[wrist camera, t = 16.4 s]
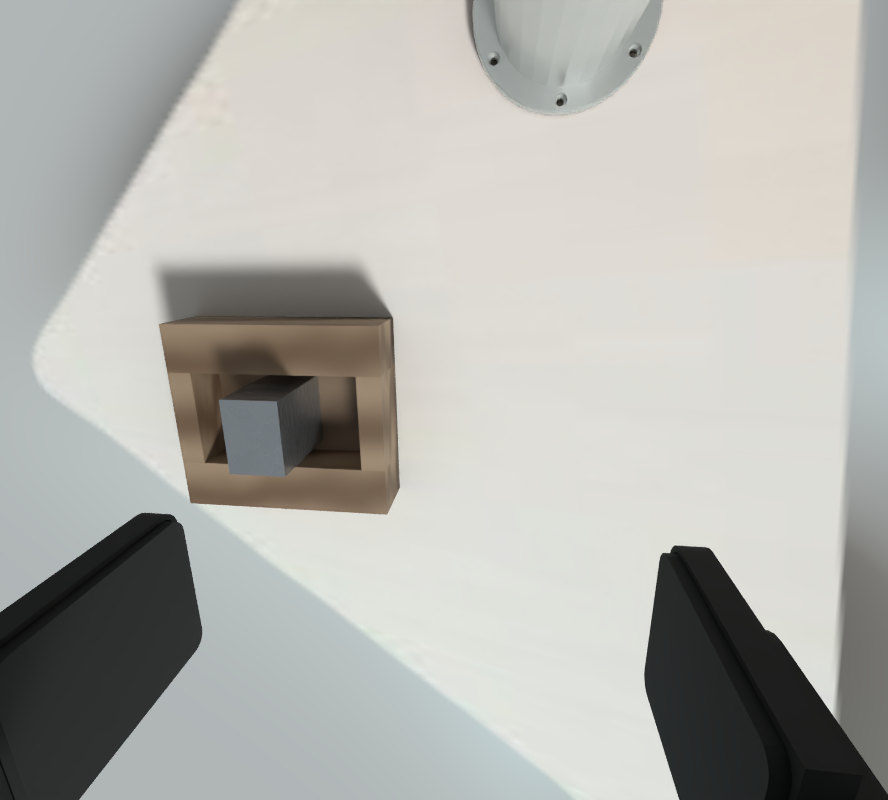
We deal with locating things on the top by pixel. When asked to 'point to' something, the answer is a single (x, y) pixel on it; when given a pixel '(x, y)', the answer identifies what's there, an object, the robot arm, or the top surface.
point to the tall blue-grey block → (271, 424)
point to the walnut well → (341, 400)
